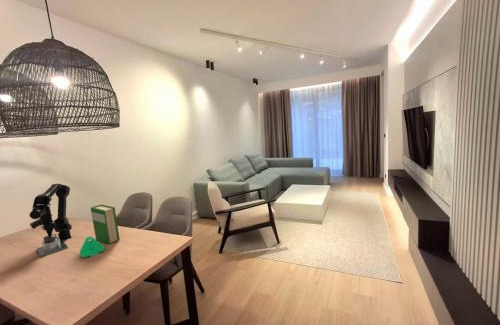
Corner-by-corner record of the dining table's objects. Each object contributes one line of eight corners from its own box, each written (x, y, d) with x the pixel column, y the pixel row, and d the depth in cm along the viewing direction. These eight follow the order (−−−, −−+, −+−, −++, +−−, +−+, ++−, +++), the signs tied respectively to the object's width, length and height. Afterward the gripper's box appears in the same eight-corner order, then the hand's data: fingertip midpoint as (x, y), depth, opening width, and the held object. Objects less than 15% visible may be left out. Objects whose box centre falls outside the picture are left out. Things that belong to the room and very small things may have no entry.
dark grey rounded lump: (56, 240, 169) (55, 233, 168) (58, 243, 164) (57, 235, 163) (43, 244, 164) (42, 236, 163) (45, 247, 159) (44, 239, 158)
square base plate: (62, 241, 175) (60, 233, 174) (67, 247, 164) (66, 239, 163) (36, 249, 165) (35, 241, 164) (40, 257, 154) (39, 248, 153)
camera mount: (83, 259, 147) (80, 243, 146) (80, 255, 152) (77, 240, 151) (105, 251, 156) (102, 236, 154) (101, 247, 161) (99, 233, 159)
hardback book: (119, 240, 170) (114, 207, 167) (108, 244, 164) (103, 210, 161) (106, 235, 180) (101, 204, 177) (96, 239, 174) (90, 207, 171)
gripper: (27, 215, 161) (31, 237, 164) (31, 220, 149) (36, 244, 151) (48, 210, 170) (52, 231, 172) (54, 215, 157) (58, 238, 159)
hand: (49, 236), depth 163 cm, fingers closed, pressing on dark grey rounded lump
